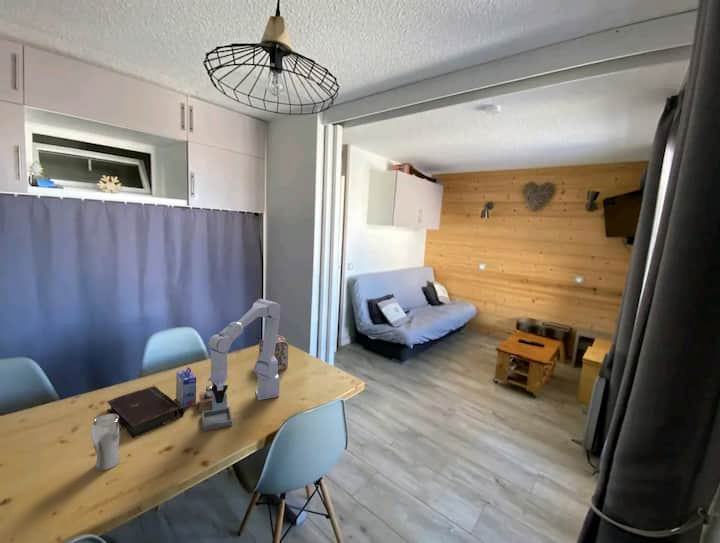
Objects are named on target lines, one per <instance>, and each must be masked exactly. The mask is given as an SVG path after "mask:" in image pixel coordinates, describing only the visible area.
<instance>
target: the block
mask: <svg viewBox="0 0 720 543" xmlns="http://www.w3.org/2000/svg"><path fill="white" fill-rule="evenodd" d="M212 407H213V409H212V410H213V411H218V410H223V409H227V407H228V394H227V391H226V392H225V394H224V399H223V402H222V403H218V404H217V403H216V400H215V395H214V393H213V391H212Z"/></svg>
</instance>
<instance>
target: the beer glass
mask: <svg viewBox="0 0 720 543" xmlns="http://www.w3.org/2000/svg"><path fill="white" fill-rule="evenodd" d="M120 439H121V425H120V421H119V416H118V415H117V414H110V413H107V414H103V415H101V416H98V417H96V418H95V419H93V421H92V422H91V441H92V445H93V448H94V451H95V454H96V463H95V469H96V470H97V471H102V472H103V471H109V470H110V469H112V468H114V467H116V466H117V465H118V464H119V463H120V462H121V456H120V453H119V444H120Z"/></svg>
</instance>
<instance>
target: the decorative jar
mask: <svg viewBox="0 0 720 543" xmlns="http://www.w3.org/2000/svg"><path fill="white" fill-rule="evenodd" d="M263 343H264V337H263V338H262V339H261V340H260V341H259V342H258V357H259V356H261V355H262V349H263ZM274 356H275V358H276V359H277V361H278V371H280V370H284V369H288V363H289V343H288V341H287V340H286V338H285V337H284V336H282V335H279V333H278V334H277V340H276V347H275V353H274Z"/></svg>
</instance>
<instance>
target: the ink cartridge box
mask: <svg viewBox="0 0 720 543" xmlns="http://www.w3.org/2000/svg"><path fill="white" fill-rule="evenodd" d="M175 374H176V375H175V378H176V379H175V380H176V382H175V385H176V386H175V399H176V400H177V402H178V404H179V405H180V406H181V407H183V409H184V408H188V407H190V406H195V405H197V376H195V374H194V373H193V372H192V369H191V368H190V367H189V366H188V367H187V369H185V370H181V371H176V372H175Z"/></svg>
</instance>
